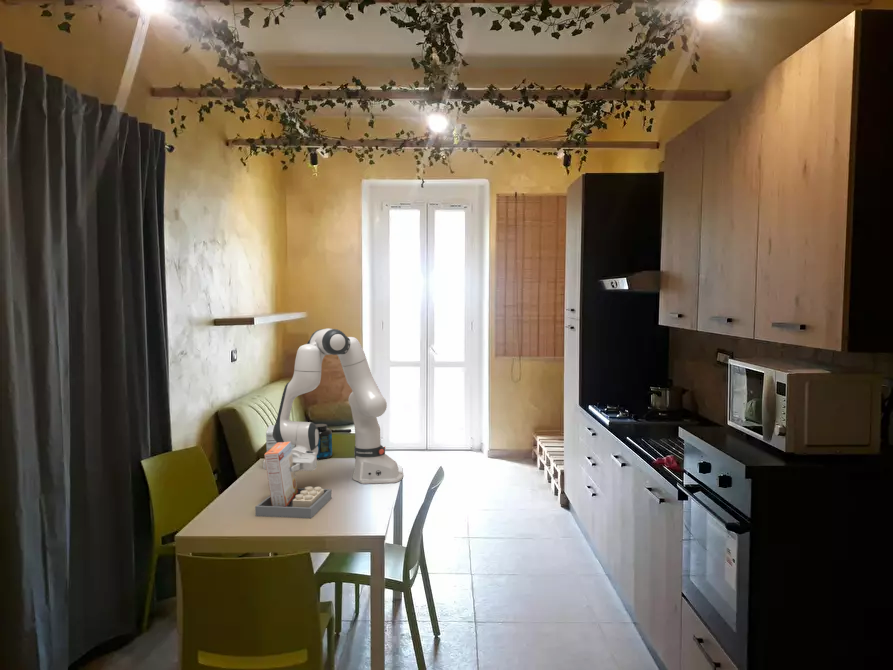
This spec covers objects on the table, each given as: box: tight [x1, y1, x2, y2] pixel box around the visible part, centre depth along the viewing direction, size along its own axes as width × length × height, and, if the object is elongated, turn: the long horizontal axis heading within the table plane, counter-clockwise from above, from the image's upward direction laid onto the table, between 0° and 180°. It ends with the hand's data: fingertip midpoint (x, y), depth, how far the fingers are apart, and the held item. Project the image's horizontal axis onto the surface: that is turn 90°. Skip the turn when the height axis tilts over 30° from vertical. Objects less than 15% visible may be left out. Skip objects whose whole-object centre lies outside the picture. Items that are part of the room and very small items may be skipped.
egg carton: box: [293, 485, 325, 508], centre depth 223 cm, size 7×14×6 cm, turn 172°
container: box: [314, 423, 333, 460], centre depth 299 cm, size 12×12×16 cm
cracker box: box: [264, 442, 298, 507], centre depth 224 cm, size 14×6×21 cm, turn 176°
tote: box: [254, 487, 332, 519], centre depth 224 cm, size 21×22×4 cm
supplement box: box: [265, 424, 296, 452], centre depth 286 cm, size 17×13×18 cm
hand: (281, 469), depth 225 cm, fingers closed on cracker box, 6 cm apart
